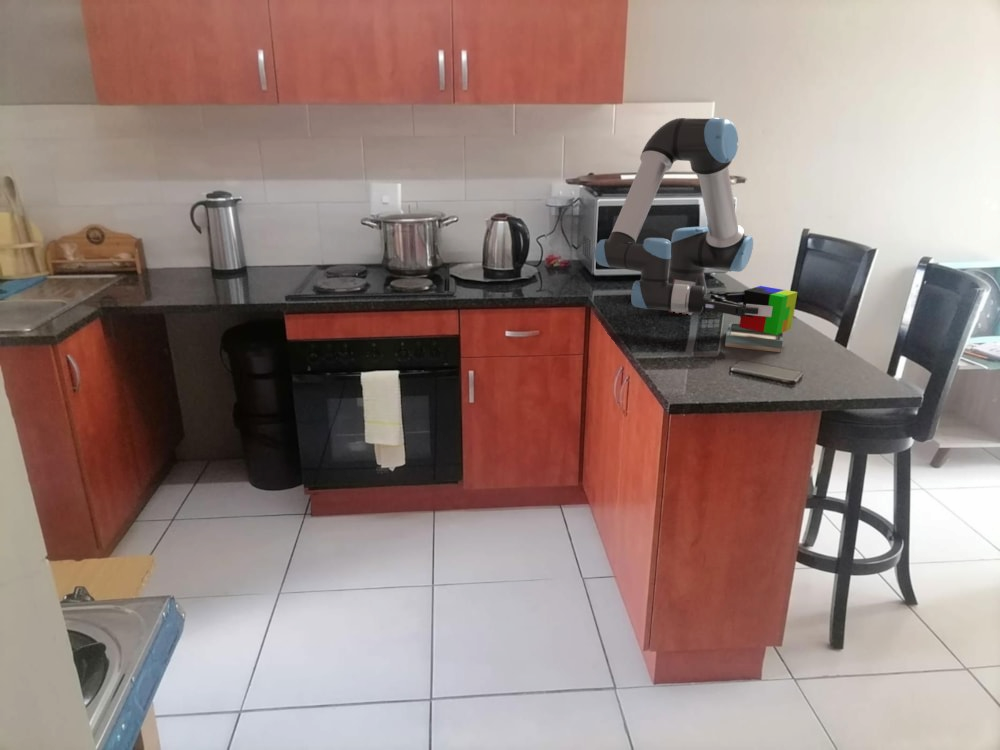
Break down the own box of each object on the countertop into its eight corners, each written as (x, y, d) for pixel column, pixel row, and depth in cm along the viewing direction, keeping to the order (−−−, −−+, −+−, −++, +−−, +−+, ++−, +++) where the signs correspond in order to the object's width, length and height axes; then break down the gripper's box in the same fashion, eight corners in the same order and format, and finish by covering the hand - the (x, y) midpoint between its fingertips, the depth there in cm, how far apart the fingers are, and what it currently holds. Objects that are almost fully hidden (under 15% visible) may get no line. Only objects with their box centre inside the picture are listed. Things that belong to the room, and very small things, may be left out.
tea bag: (673, 309, 224) (676, 278, 221) (694, 312, 221) (697, 281, 217) (669, 311, 222) (671, 280, 218) (689, 315, 218) (692, 283, 214)
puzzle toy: (754, 321, 195) (760, 285, 192) (790, 328, 189) (797, 292, 185) (739, 327, 188) (745, 290, 185) (776, 335, 181) (782, 296, 178)
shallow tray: (727, 332, 199) (729, 322, 198) (780, 337, 195) (782, 327, 194) (724, 346, 187) (726, 335, 186) (781, 352, 182) (782, 341, 181)
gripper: (692, 302, 205) (770, 309, 198) (682, 322, 184) (769, 331, 177) (694, 277, 203) (774, 283, 196) (685, 294, 181) (774, 302, 174)
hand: (772, 306), depth 186 cm, fingers closed on puzzle toy, 12 cm apart
